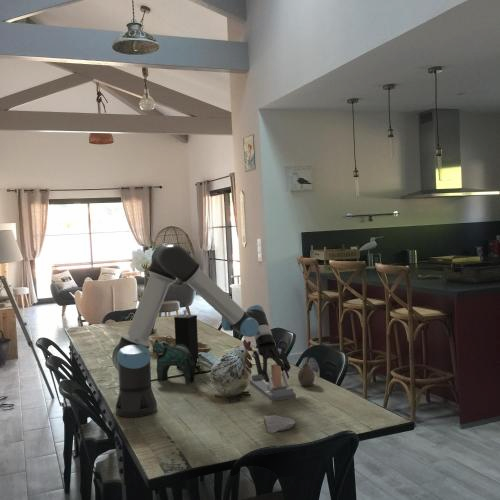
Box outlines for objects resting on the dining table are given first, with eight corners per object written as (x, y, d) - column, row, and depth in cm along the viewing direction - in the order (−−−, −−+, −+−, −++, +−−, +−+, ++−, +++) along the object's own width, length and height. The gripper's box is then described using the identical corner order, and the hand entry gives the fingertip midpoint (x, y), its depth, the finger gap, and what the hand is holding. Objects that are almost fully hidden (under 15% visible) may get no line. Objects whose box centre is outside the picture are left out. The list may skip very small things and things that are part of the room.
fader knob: (267, 388, 220) (266, 365, 219) (281, 386, 222) (280, 363, 221) (272, 392, 215) (271, 368, 214) (286, 390, 217) (285, 366, 216)
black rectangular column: (176, 368, 263) (173, 310, 261) (185, 364, 270) (183, 307, 268) (189, 370, 259) (187, 311, 258) (199, 365, 266) (196, 308, 265)
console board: (249, 383, 234) (249, 375, 234) (271, 380, 238) (271, 372, 237) (271, 401, 210) (271, 392, 210) (295, 397, 213) (295, 388, 213)
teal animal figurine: (152, 380, 245) (150, 335, 244) (161, 376, 250) (159, 332, 249) (190, 384, 235) (188, 338, 234) (198, 380, 241) (196, 335, 240)
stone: (293, 419, 191) (293, 409, 190) (297, 432, 179) (296, 421, 179) (263, 421, 190) (263, 411, 190) (265, 434, 179) (265, 423, 178)
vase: (314, 387, 225) (313, 366, 225) (297, 387, 226) (296, 366, 226) (315, 382, 232) (314, 362, 231) (299, 382, 233) (298, 362, 233)
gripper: (282, 341, 235) (299, 389, 221) (240, 345, 229) (255, 395, 214) (287, 331, 230) (304, 379, 215) (244, 335, 224) (259, 386, 209)
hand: (280, 387), depth 215 cm, fingers closed on fader knob, 6 cm apart
